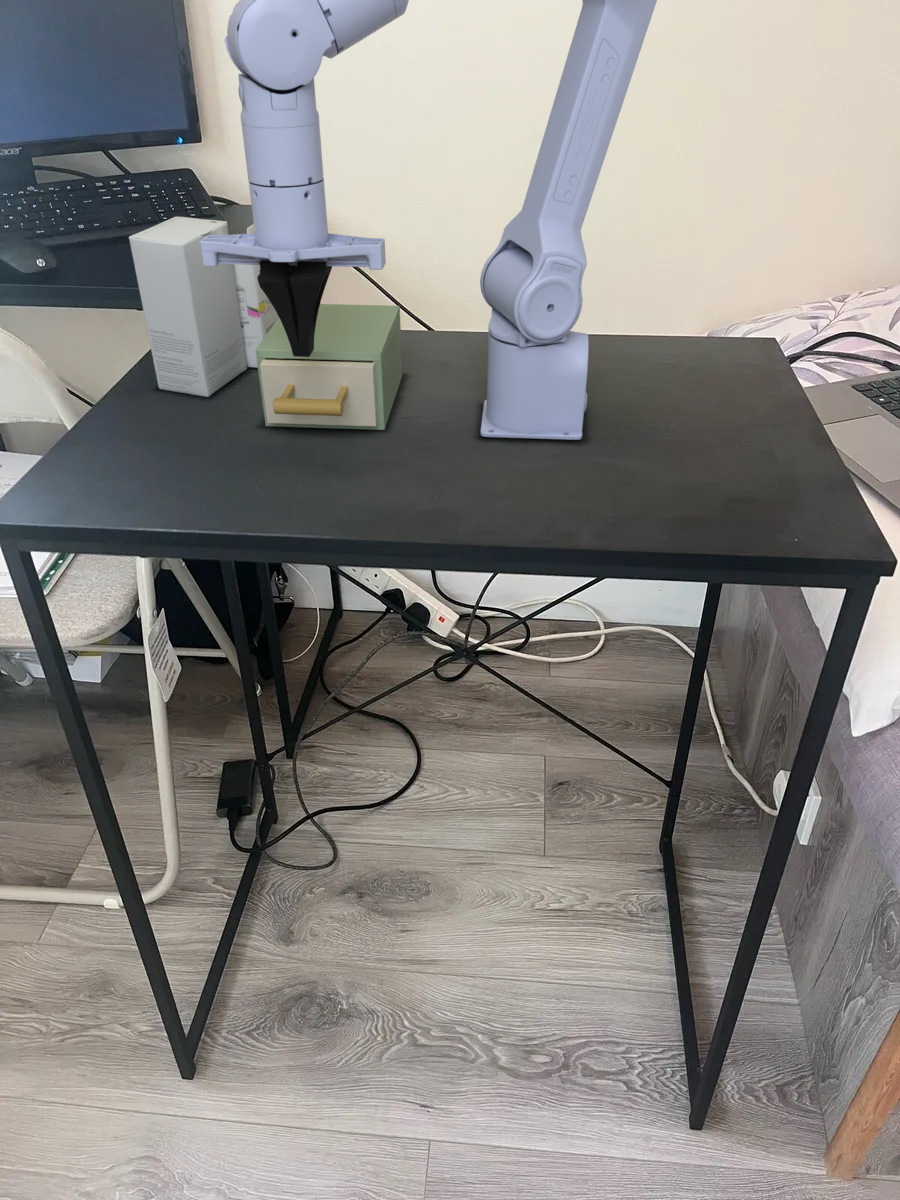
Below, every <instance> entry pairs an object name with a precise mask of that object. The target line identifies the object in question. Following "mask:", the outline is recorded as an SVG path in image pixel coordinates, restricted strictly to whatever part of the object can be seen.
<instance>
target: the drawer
mask: <svg viewBox="0 0 900 1200" xmlns="http://www.w3.org/2000/svg"><path fill="white" fill-rule="evenodd" d="M274 359H275V360H262V362H261V363H260V369H261V377H262V385H263V392H264V400H265V408H266V415H267V423H283V424H313V425H344V426H375V427H376V425H377V422H378V414H377V396H376V377H375V363H373V361H356V360H354V362H331V361H305V360H306V359H283V358H274Z"/></svg>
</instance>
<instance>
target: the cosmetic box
mask: <svg viewBox="0 0 900 1200" xmlns="http://www.w3.org/2000/svg"><path fill="white" fill-rule="evenodd" d="M207 235H230V234H229V224H228V221H226V220H216V219H207V218H206V219H205V218H197V217H187V216H174V217H172V218H169V219H167V220H164V221H162V222H159V223H158V224H155V225H153V226H151V227H149V228H147V229H144V230H142V231H139V232H137V233H133V234H131V235H129V236H128V240H129V245H130V250H131V255H132V261H133V266H134V270H135V275H136V281H137V285H138V290H139V296H140V300H141V305H142V306H141V307H142V312H143V316H144V321H145V326H146V331H147V336H148V341H149V346H150V352H151V357H152V361H153V366H154V372H155V376H156V381H157V387H158V389H159V390H164V391H169V392H176V393H181V394H187V395H188V394H189V395H194V396H198V397H199V396H200V397H206V398H209V397H211V396H212V395H213V394H215V393H216V392H218V391H219V390H220V389H222V388H223V387H224V386H225V385H227V384H228V383H230V382H232V380H234V379H235V378H237V377H239V376H240V375H241V374H242V373H244V372H245V371H247V370H248V367H247V365H246V358H245V351H244V344H243V337H242V330H241V323H240V315H239V308H238V301H237V293H236V286H235V278H234V271H233V264H218V265H217V266H203V260H202V253H201V247H200V241H201V240H202V239H204V238H205V237H206V236H207Z"/></svg>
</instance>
